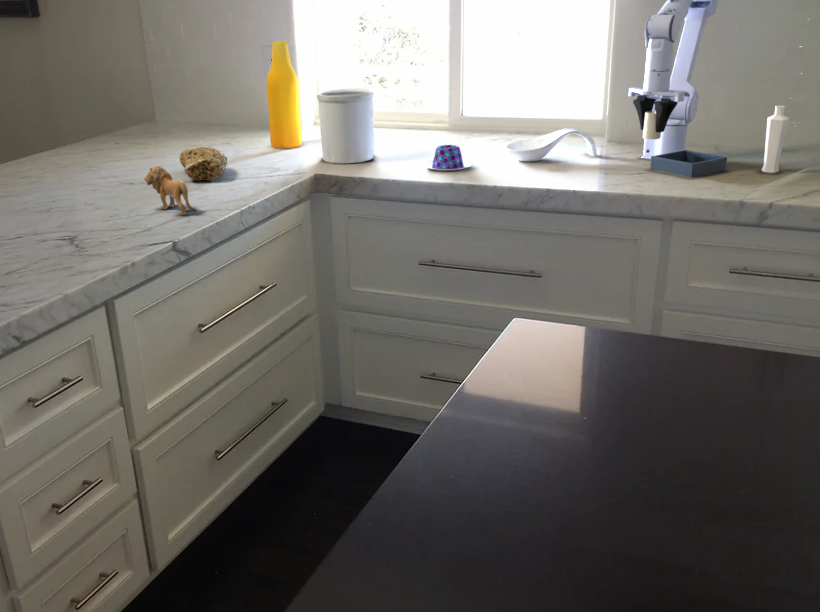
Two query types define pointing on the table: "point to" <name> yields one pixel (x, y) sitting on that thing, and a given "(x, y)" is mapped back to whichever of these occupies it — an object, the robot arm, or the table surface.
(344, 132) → the utensil holder
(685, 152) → the bin
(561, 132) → the spoon rest
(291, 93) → the beer bottle
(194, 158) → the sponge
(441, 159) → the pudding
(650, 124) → the cream cylinder
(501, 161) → the table surface
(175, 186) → the lion figurine
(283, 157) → the table surface
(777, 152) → the perfume bottle
